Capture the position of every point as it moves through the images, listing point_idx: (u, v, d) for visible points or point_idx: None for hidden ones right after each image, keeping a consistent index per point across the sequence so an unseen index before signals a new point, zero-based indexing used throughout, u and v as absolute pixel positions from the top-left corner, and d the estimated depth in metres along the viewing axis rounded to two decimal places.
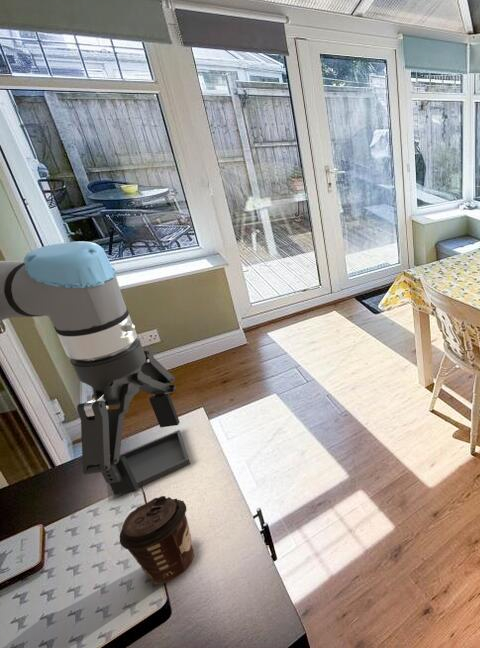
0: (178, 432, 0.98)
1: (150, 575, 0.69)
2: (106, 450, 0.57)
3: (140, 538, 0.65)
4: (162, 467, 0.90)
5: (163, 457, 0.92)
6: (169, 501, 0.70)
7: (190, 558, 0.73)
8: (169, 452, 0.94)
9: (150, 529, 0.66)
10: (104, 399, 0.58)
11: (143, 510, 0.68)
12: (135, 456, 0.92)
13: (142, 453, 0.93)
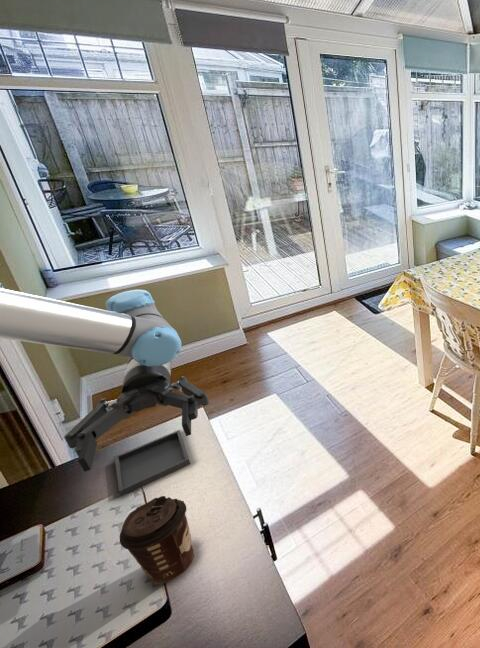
0: (178, 432, 0.98)
1: (150, 575, 0.69)
2: None
3: (140, 538, 0.65)
4: (162, 467, 0.90)
5: (163, 457, 0.92)
6: (169, 501, 0.70)
7: (190, 558, 0.73)
8: (169, 452, 0.94)
9: (150, 529, 0.66)
10: (173, 388, 0.85)
11: (143, 510, 0.68)
12: (135, 456, 0.92)
13: (142, 453, 0.93)
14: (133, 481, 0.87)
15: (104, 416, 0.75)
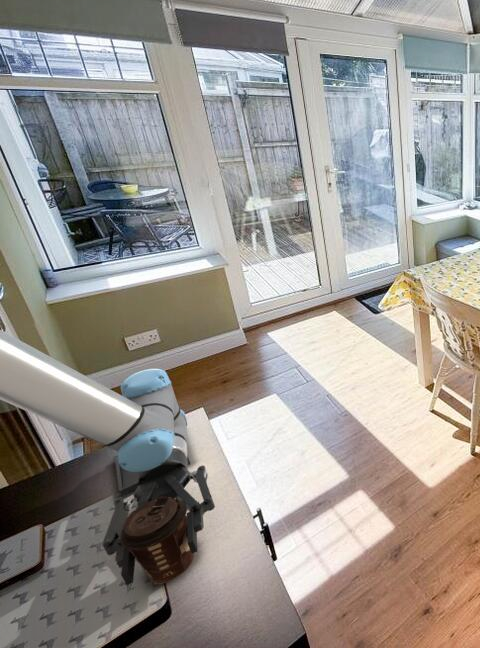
0: None
1: (150, 575, 0.69)
2: None
3: (141, 538, 0.65)
4: None
5: None
6: (171, 501, 0.70)
7: (190, 558, 0.73)
8: None
9: (151, 529, 0.66)
10: None
11: (144, 510, 0.68)
12: None
13: None
14: (133, 481, 0.87)
15: None
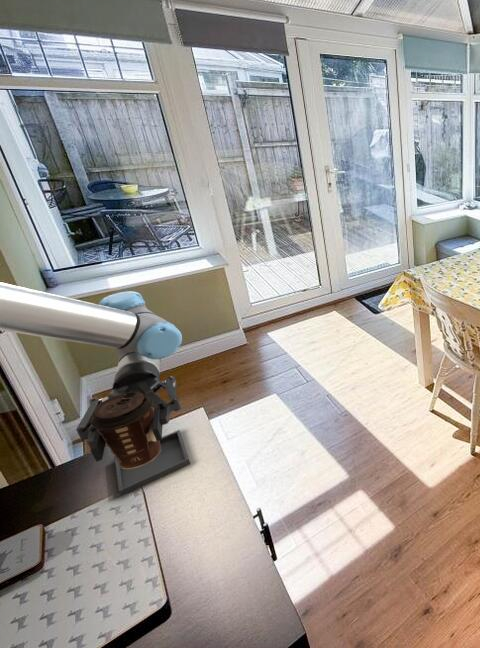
0: (178, 432, 0.98)
1: (119, 459, 0.77)
2: None
3: (109, 420, 0.73)
4: (162, 467, 0.90)
5: (163, 457, 0.92)
6: (138, 395, 0.78)
7: (157, 450, 0.81)
8: (169, 452, 0.94)
9: (119, 413, 0.73)
10: None
11: (114, 401, 0.76)
12: None
13: None
14: (133, 481, 0.87)
15: None
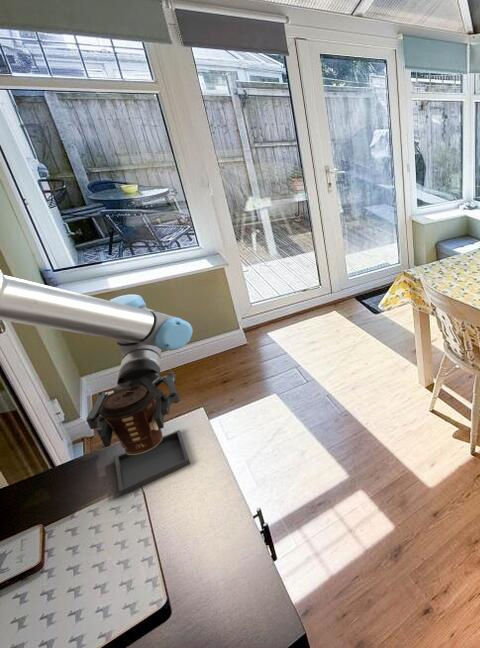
0: (178, 432, 0.98)
1: (125, 446, 0.85)
2: None
3: (116, 410, 0.81)
4: (162, 467, 0.90)
5: (163, 457, 0.92)
6: (142, 388, 0.86)
7: (159, 438, 0.89)
8: (169, 452, 0.94)
9: (125, 404, 0.82)
10: None
11: (120, 393, 0.85)
12: (135, 456, 0.92)
13: (142, 453, 0.93)
14: (133, 481, 0.87)
15: None
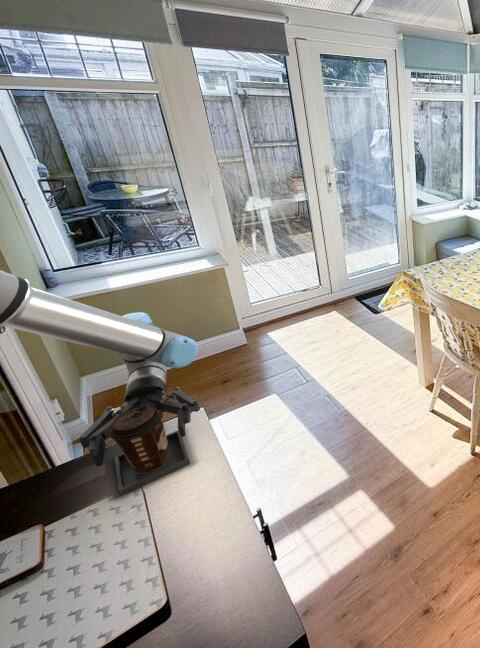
0: (178, 432, 0.98)
1: (134, 466, 0.88)
2: None
3: (125, 431, 0.83)
4: (162, 467, 0.90)
5: None
6: (149, 409, 0.88)
7: (166, 457, 0.91)
8: None
9: (133, 426, 0.84)
10: (169, 397, 1.00)
11: (128, 414, 0.87)
12: None
13: None
14: (133, 481, 0.87)
15: (111, 421, 0.90)
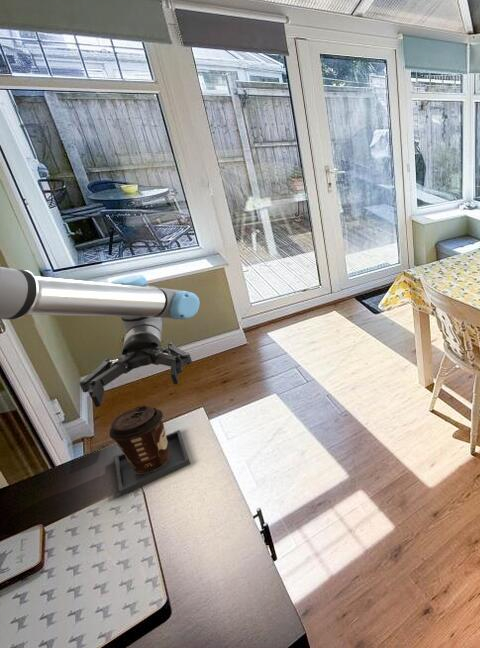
0: (178, 432, 0.98)
1: (134, 466, 0.88)
2: None
3: (125, 431, 0.83)
4: (162, 467, 0.90)
5: None
6: (149, 409, 0.88)
7: (166, 457, 0.91)
8: None
9: (133, 426, 0.84)
10: (163, 352, 1.07)
11: (128, 414, 0.87)
12: None
13: None
14: (133, 481, 0.87)
15: (109, 370, 0.97)
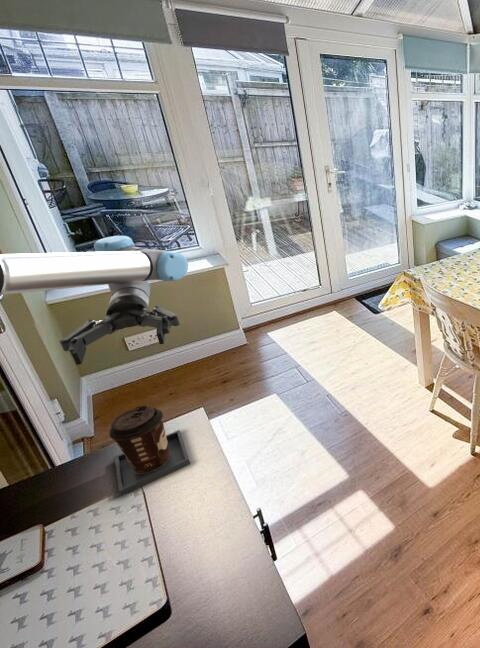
0: (178, 432, 0.98)
1: (134, 466, 0.88)
2: None
3: (125, 431, 0.83)
4: (162, 467, 0.90)
5: None
6: (149, 409, 0.88)
7: (166, 457, 0.91)
8: None
9: (133, 426, 0.84)
10: (150, 314, 1.03)
11: (128, 414, 0.87)
12: None
13: None
14: (133, 481, 0.87)
15: (92, 329, 0.93)
